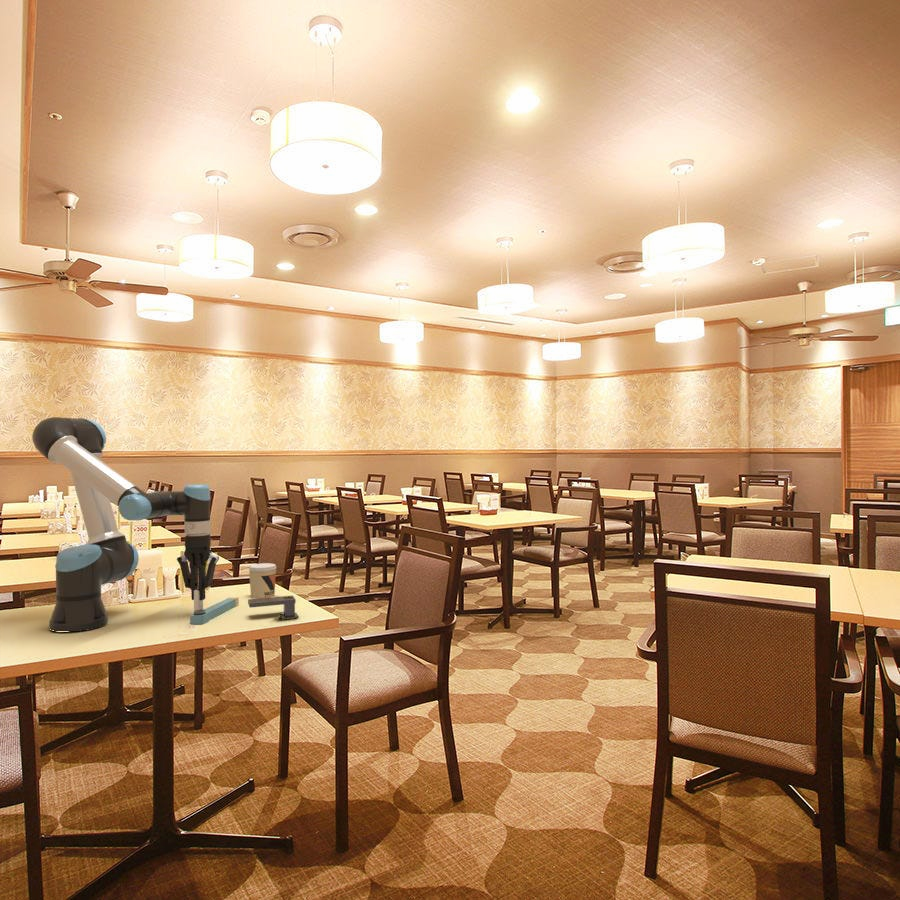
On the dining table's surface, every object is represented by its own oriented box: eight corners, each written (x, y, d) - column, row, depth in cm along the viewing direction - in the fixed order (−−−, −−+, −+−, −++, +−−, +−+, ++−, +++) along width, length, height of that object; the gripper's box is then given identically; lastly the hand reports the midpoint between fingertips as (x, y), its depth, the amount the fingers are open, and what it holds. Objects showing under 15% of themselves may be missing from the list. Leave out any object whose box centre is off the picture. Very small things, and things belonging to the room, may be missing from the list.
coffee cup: (266, 603, 219) (266, 568, 219) (243, 601, 222) (243, 566, 222) (281, 597, 227) (281, 563, 228) (259, 595, 231) (259, 562, 231)
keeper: (249, 624, 192) (249, 603, 192) (248, 619, 198) (248, 599, 198) (298, 619, 198) (298, 599, 198) (295, 614, 203) (295, 595, 203)
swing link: (202, 624, 187) (202, 615, 187) (189, 624, 188) (189, 615, 188) (239, 605, 211) (239, 597, 211) (228, 604, 212) (228, 596, 212)
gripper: (171, 535, 196) (172, 613, 196) (211, 536, 194) (212, 613, 194) (184, 532, 203) (185, 607, 203) (223, 532, 202) (224, 607, 201)
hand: (198, 610), depth 199 cm, fingers closed
